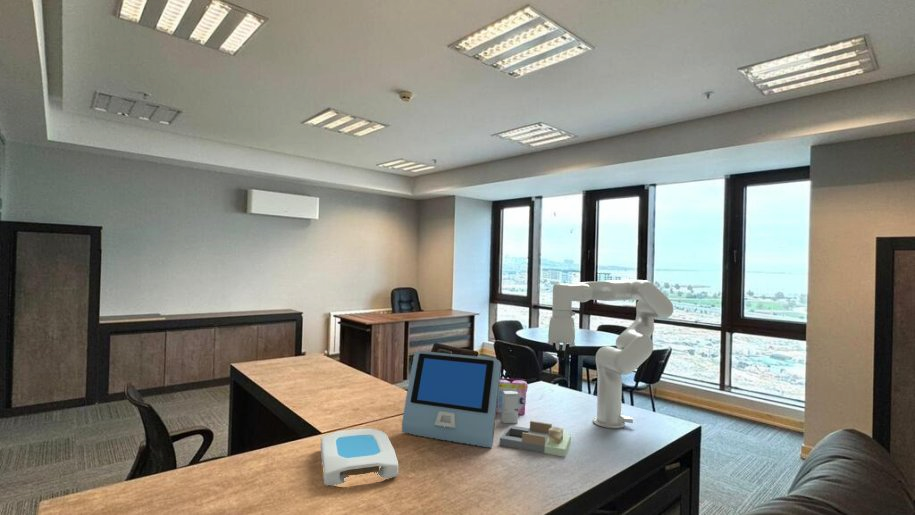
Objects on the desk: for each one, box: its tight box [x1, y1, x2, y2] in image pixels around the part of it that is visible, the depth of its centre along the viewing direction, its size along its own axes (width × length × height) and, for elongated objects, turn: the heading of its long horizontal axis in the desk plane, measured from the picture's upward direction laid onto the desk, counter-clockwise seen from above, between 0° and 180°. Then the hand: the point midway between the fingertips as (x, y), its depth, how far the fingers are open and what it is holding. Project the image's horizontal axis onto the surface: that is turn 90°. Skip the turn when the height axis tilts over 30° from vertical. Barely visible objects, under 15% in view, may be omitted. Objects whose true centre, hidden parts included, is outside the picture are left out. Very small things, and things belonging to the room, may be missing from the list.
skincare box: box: [501, 391, 519, 424], centre depth 180 cm, size 6×4×12 cm
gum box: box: [496, 377, 529, 415], centre depth 194 cm, size 24×8×14 cm, turn 85°
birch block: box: [549, 425, 564, 444], centre depth 155 cm, size 4×4×4 cm
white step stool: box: [320, 427, 399, 486], centre depth 138 cm, size 21×28×6 cm
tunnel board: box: [499, 420, 572, 458], centre depth 158 cm, size 23×14×6 cm, turn 68°
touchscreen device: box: [401, 350, 502, 448], centre depth 166 cm, size 35×20×30 cm, turn 70°
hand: (560, 359), depth 175 cm, fingers closed
